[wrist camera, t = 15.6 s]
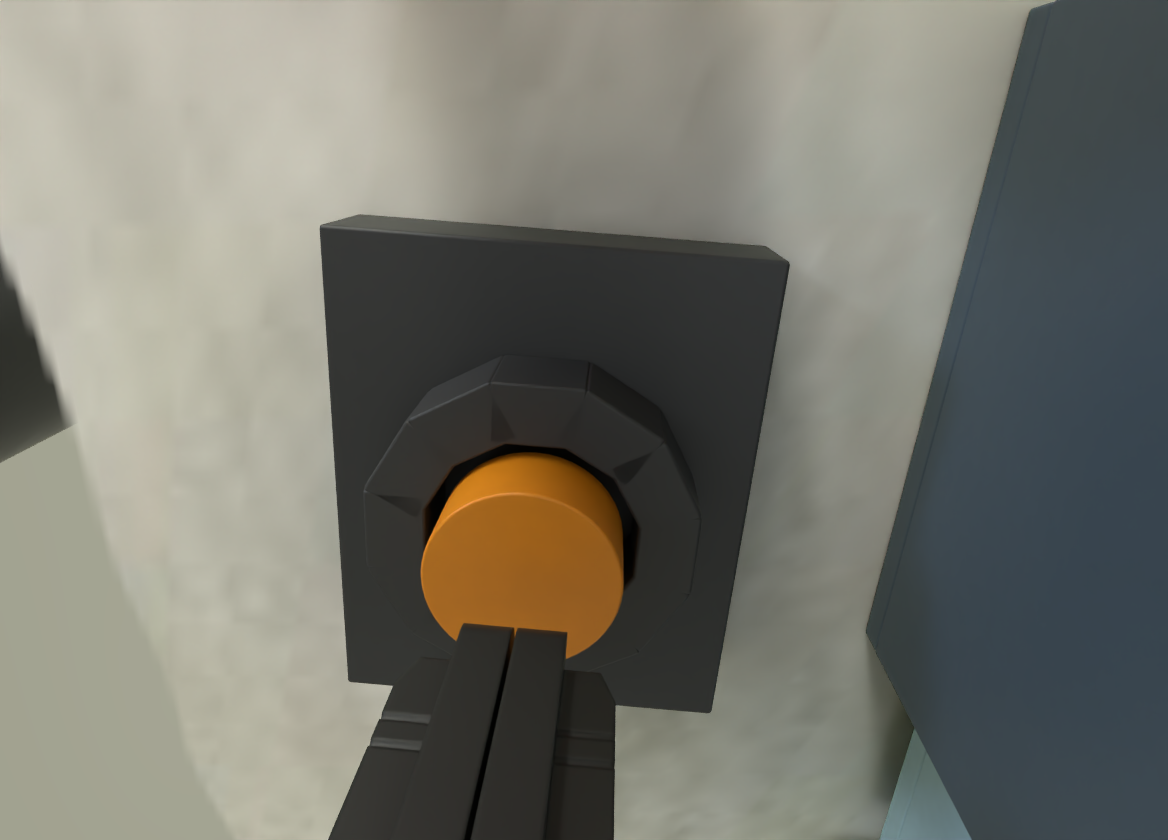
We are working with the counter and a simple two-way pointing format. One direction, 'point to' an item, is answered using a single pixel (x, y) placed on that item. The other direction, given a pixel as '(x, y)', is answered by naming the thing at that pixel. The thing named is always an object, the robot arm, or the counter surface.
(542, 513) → the button
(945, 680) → the grey drawer cabinet
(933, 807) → the light blue drawer
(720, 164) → the counter surface
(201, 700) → the counter surface
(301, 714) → the counter surface
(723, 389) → the block
